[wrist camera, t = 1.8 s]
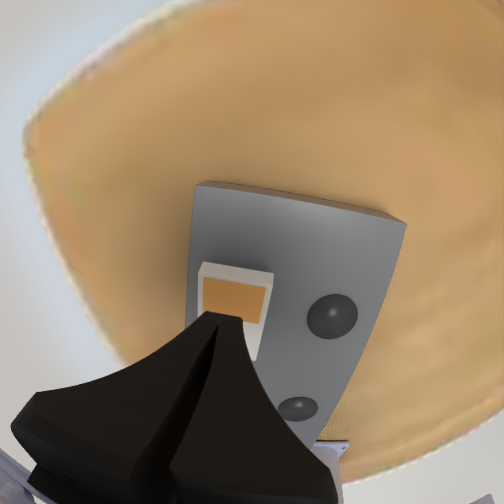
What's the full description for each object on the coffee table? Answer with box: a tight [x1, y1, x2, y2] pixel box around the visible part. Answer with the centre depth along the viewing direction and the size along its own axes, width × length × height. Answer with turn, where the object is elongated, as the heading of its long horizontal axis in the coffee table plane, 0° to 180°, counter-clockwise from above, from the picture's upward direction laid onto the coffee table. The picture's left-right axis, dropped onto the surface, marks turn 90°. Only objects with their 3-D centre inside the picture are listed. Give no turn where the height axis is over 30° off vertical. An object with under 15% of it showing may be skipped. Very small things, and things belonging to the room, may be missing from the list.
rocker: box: [198, 261, 274, 361], centre depth 15 cm, size 6×4×1 cm, turn 172°
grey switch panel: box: [185, 181, 407, 449], centre depth 19 cm, size 22×12×3 cm, turn 172°
